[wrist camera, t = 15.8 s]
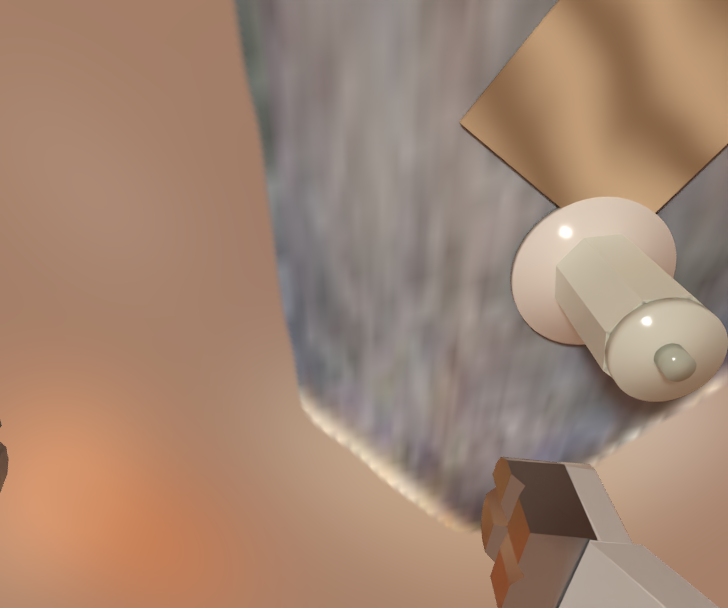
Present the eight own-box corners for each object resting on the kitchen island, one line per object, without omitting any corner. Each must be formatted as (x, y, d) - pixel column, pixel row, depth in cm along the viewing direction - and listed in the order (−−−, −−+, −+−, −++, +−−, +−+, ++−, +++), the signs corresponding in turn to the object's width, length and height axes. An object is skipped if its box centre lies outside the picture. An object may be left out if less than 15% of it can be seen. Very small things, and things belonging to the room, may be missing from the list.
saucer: (595, 160, 36) (600, 163, 36) (703, 257, 39) (710, 262, 39) (477, 284, 40) (479, 289, 40) (584, 363, 43) (588, 369, 43)
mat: (668, -135, 29) (671, -136, 29) (822, 47, 33) (827, 48, 33) (459, 121, 35) (460, 123, 35) (611, 250, 39) (613, 252, 39)
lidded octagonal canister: (604, 218, 37) (692, 295, 27) (662, 269, 39) (765, 360, 29) (537, 283, 39) (596, 377, 29) (595, 329, 41) (669, 433, 31)
